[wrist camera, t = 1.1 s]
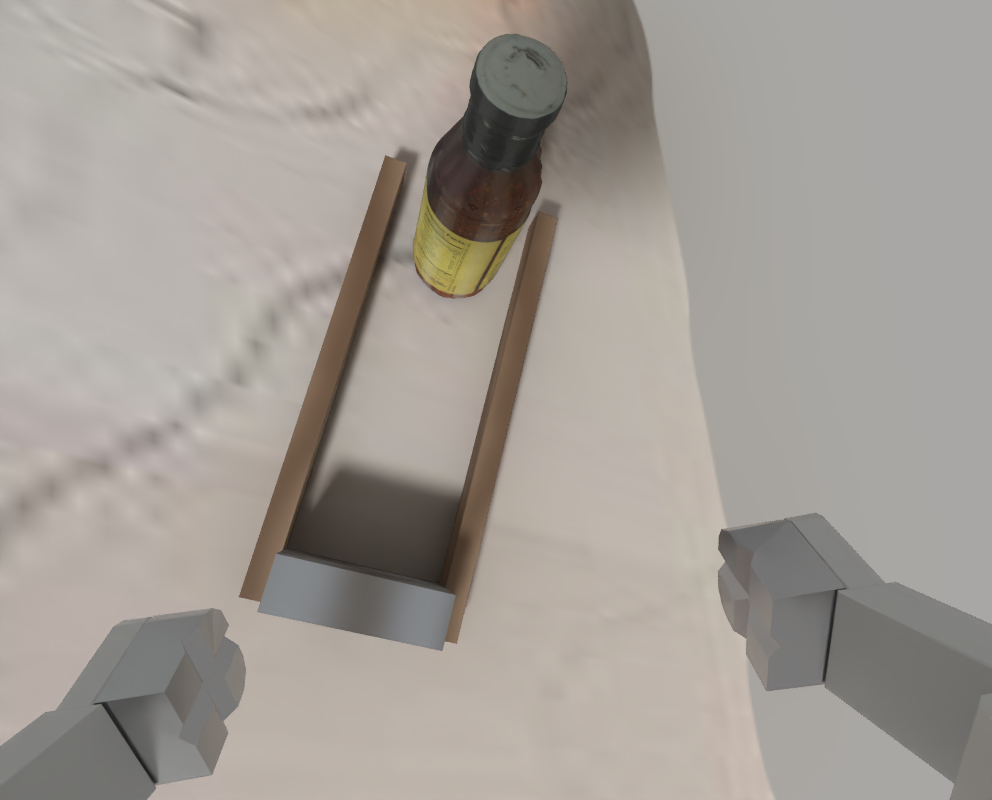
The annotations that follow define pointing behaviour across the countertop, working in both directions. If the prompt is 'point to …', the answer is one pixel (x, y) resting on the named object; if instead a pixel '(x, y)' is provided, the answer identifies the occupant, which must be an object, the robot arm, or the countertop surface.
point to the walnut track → (273, 568)
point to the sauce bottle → (488, 167)
